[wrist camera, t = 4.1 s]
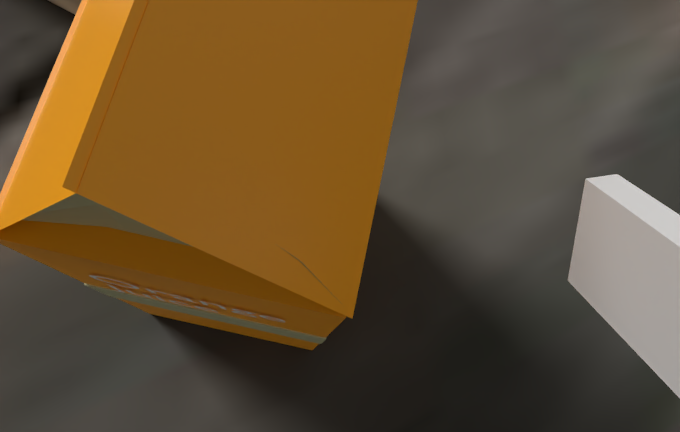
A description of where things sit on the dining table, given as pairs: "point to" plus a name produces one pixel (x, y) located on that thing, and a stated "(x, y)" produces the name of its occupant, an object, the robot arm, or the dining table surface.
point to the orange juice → (214, 158)
